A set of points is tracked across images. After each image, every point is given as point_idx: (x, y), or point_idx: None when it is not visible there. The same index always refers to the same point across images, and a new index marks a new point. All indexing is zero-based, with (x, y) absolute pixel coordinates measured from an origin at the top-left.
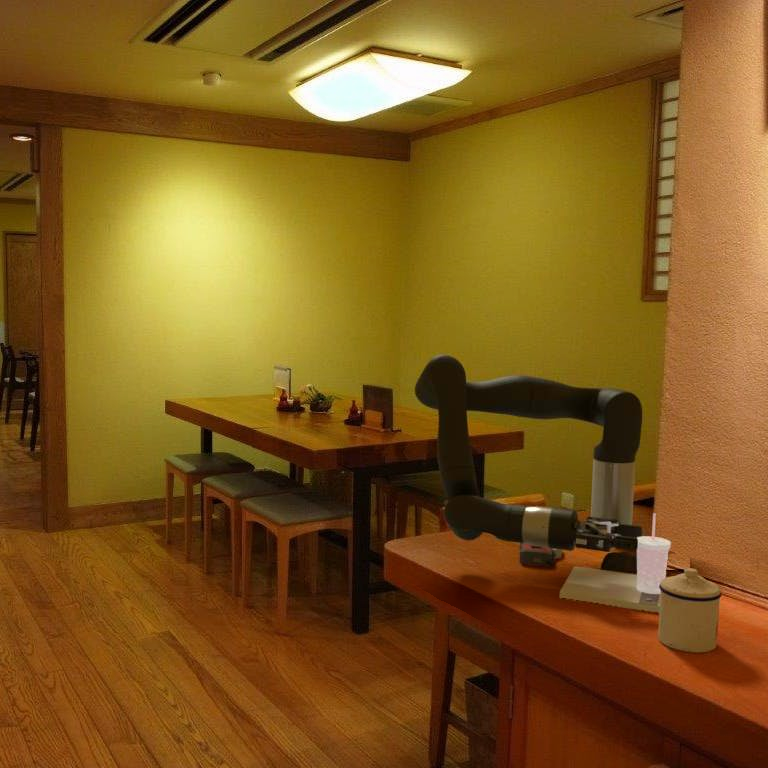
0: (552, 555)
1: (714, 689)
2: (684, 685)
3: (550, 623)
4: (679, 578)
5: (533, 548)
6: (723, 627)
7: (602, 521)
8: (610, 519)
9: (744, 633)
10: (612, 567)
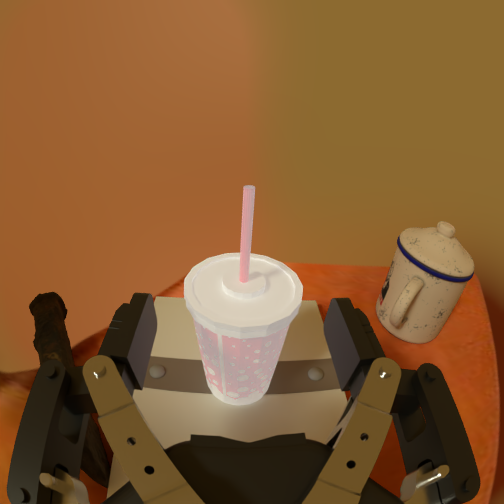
0: None
1: (468, 290)
2: (482, 305)
3: (491, 471)
4: (459, 245)
5: None
6: (324, 290)
7: (152, 450)
8: (40, 394)
9: (327, 275)
10: (101, 455)
